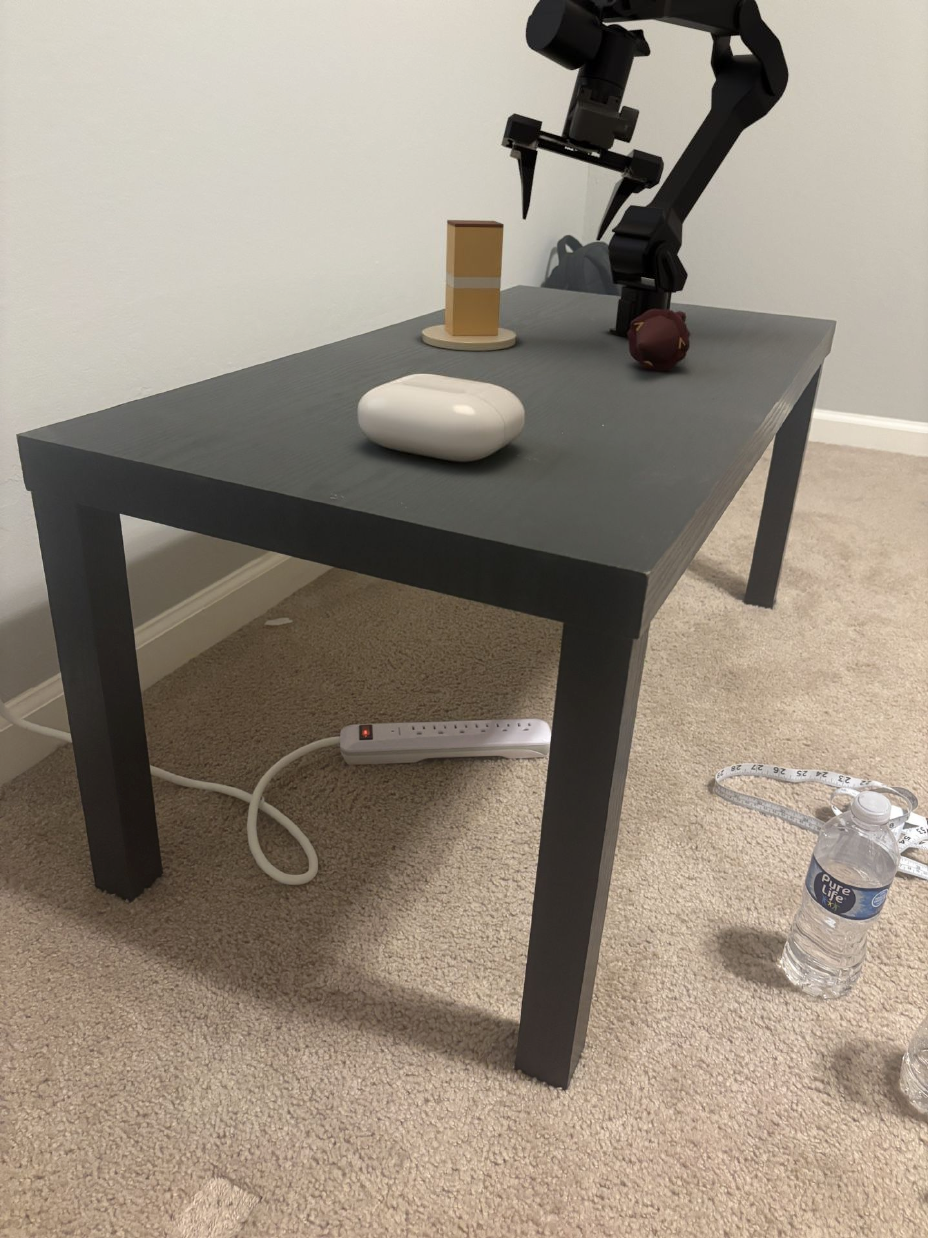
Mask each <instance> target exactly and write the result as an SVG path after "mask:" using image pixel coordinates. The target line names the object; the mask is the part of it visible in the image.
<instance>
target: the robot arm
mask: <svg viewBox="0 0 928 1238" xmlns="http://www.w3.org/2000/svg"><path fill="white" fill-rule="evenodd" d="M640 21H656V22H661V23H666V24H670V25H674V26H678V27H684V28H687V29H691V30H692V29H693V30H697V31H700V32H705V33H709V34H710V36H711V39H712V47H711V56H710V61H709V62H710V67H711V70H712V73H713V75H714V78H715V81H714V83H713V85H712V87H711V90H710V91H711V93H710V94H711V95H710V109H709V111H708V113H707V114H706V117H705V118H704V119H703V121H702V123H700V124H701V125H699V127H698V129H697V130H696V132H695V134H693V137H692V138H691V139H690V141H689V142H688V145H687V146H686V147H685V149H684V150H683V152H682V153H681V155H680V157H679V158H678V159H677V161H676V163H675V164H674V166H673V168H671V171H670V172H669V173H668V175H667V177H666V178H665V179H664V181H663V183H662V185H661V186H660V188H659V189H658V191H656V193H655V195H654V197H653V198H652V200H651V201H650V202H648V204H646V205H645V206H644V205H636V204H635V205H634V204H630V205H629V206H628V207H627V208H626V209H625V210H624V212H623V215H622V217H621V219H620V221H619V222H618V224H617V225H615V227H613V228H612V229H611V233H613V235H611V238H610V240H609V242H608V245H607V250H608V259H609V266H610V272H611V273H610V274H611V278H612V279H611V280H612V284H613V285H619V286H620V285H621V291H620V298H618V301H617V312H616V320H615V327H610V328H609V330H608V333H611V334H616V335H619V336H622V337H626V338H628V335H627V334H628V331H629V330H630V323H631V321H633V320H634V319H635V318H637V317H639V316H641V315H642V314H643V313H645V312H646V311H648V310H650V309H662V310H665V309H669V310H671V302H672V296H673V295H672V294H675V293H678V292H683V289H684V288H685V285H686V283H687V279H688V277H689V276H688V275H689V274H688V272H687V269H686V267H685V266H684V265H683V263H682V261H681V259H680V257H679V252H680V250H681V248H682V245H683V229H684V228H683V226H684V225H683V224H684V223H685V221H686V219H687V218H688V216H689V215H690V213H691V211H693V208H694V207H695V205H696V204H697V202H698V201H699V199H700V197H701V196H702V195H703V193H704V191H705V190H706V188H707V187H708V186H709V184H710V182H711V180H712V179H713V177H714V176H715V174H716V173H717V171H718V170H719V169H720V167H721V165H722V164H723V162H724V161H725V159H726V158H727V156H728V154H729V153H730V152H731V150H732V148H733V146H734V145H735V144H736V142H737V140H738V139H739V137H740V136H741V134H742V133H743V132H744V131H745V130H746V129H747V128H749V127H750V126H752V125H753V124H756V123H757V122H758V121H759V120H762V119H763V118H765V117H766V116H767V115H768V114H769V113H770V112H771V110H772V109H773V108H774V107H775V106H776V105H777V103H778V102H779V101H780V100H781V98H782V97H783V95H784V93H785V91H786V88H787V86H788V84H789V83H788V82H789V77H790V73H789V67H788V63H787V60H786V57H785V53H784V50H783V46H782V43H781V40H780V39H779V38H778V37H777V35H776V34H775V33H774V32H773V30H772V29H771V28H770V26H768V24H767V23H766V22H765V20H763V18H762V14H761V12H760V9H759V5H758V3H757V1H756V0H538V2H537V3H536V5H535V6H534V8H533V10H532V12H531V14H529V16H528V18H527V21H526V26H525V42H526V43H527V46H528V48H530V50H532V51H534V52H535V53H537V54H539V55H541V56H543V57H544V58H546V59H547V60H549V61H550V62H551V61H552V62H553V63H555V64H557V65H559V66H561V67H562V68H564V69H566V70H569V71H575V70H577V76H576V79H575V83H574V87H573V90H572V94H571V97H570V101H569V105H568V109H567V113H566V116H565V121H564V123H563V126H562V127H563V128H562V131H561V135H558V134H555V133H552V132H548V131H544V130H542V126H543V121H542V120H538V119H535V118H532V117H529V116H525V115H522V114H518V113H515V112H514V113H512V114H511V115H509V116H508V117H507V120H506V123H505V128H504V132H503V135H502V141H501V144H500V146H502V147H504V148H507V149H509V150H510V153H509V157H510V158H512V159H515V160H516V161H517V165H518V173H519V179H520V189H521V191H520V193H521V216H522V218H521V219H522V220H524V221H526V220H527V217H528V213H529V209H530V207H531V198H532V192H533V184H534V178H535V171H536V165H537V159H538V153H539V151H538V150H537V149H539V150H542V151H547V152H550V153H553V154H556V155H560V156H563V157H565V158H569V159H573V160H576V161H580V162H583V163H587V164H590V165H593V166H597V167H601V168H604V169H607V170H611V171H614V172H617V173H620V179H619V180H618V181H617V182H615V184H614V186H613V189H612V191H611V194H610V197H609V200H608V203H607V205H606V207H605V210H604V212H603V215H602V218H601V221H600V223H599V226H598V228H597V232H596V237H595V241H598V242H600V241H601V239H602V238H603V237H604V234H605V233H606V231H607V230H608V228H609V227H610V225H611V224H612V222H613V220H614V218H615V217H616V216H617V214H618V212H619V211H620V209H621V208H622V206H623V205H624V204H625V203H626V201H627V200H628V199H629V198H630V197H631V196H632V194H635V195H638V194H640V193H641V192H643V191H644V190H652V189H653V188H654V187H656V186H657V185H659V184H660V182H661V179H662V176H663V172H664V170H665V169H664V168H665V162H664V160H663V157H662V156H661V155H660V156H659V155H657V154H653V153H649V152H646V151H643V150H639V149H636V148H633V149H632V150H631V151H630V152H629V153H628V154H627V155H625V154H623V153H618V152H615V151H612V150H611V149H612V148H613V147H614V143H615V140H616V141H621V142H623V143H626V144H630V143H631V141H632V140H633V136H634V133H635V130H636V127H637V123H638V119H639V115H640V109H637V108H634V107H631V106H627V105H622V102H623V99H624V95H625V91H626V89H627V85H628V82H629V77H630V74H631V70H632V66H633V64H634V60H635V58H639V57H640V58H644V57H649V56H650V55H651V47H650V44H649V43H648V41H647V39H646V37H645V33H644V29H642V28H638V29H627V28H625V27H624V26H623V25H621V24H619V23H628V22H640ZM607 24H608V25H607ZM732 37H739V38H740V40H741V42H742V43H743V45H744V46H746V48H747V49H748V51H750V53H748V54H747V53H746V54H734V53H733V50H732V47H731V40H732ZM593 153H595V154H597V155H594V154H593ZM598 155H599V156H598Z"/></svg>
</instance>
